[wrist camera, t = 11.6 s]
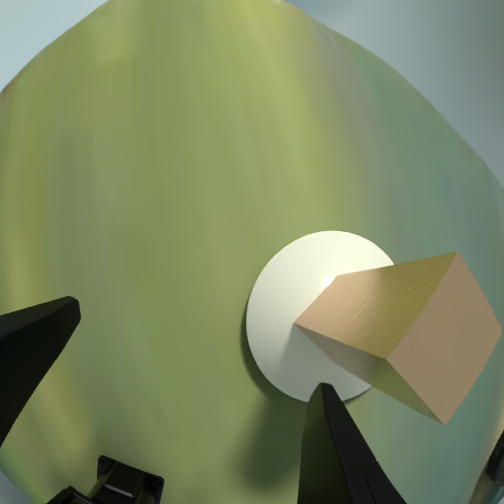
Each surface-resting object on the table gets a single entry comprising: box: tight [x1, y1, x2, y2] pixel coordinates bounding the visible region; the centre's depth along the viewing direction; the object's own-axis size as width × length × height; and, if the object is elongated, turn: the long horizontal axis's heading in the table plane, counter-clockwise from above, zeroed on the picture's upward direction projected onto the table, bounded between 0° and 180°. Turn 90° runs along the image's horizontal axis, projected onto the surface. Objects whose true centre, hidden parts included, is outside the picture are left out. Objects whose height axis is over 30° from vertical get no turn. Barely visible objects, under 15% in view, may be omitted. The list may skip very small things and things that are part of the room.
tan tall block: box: [293, 252, 502, 426], centre depth 15 cm, size 5×5×13 cm
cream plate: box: [246, 231, 394, 402], centre depth 22 cm, size 14×14×1 cm
